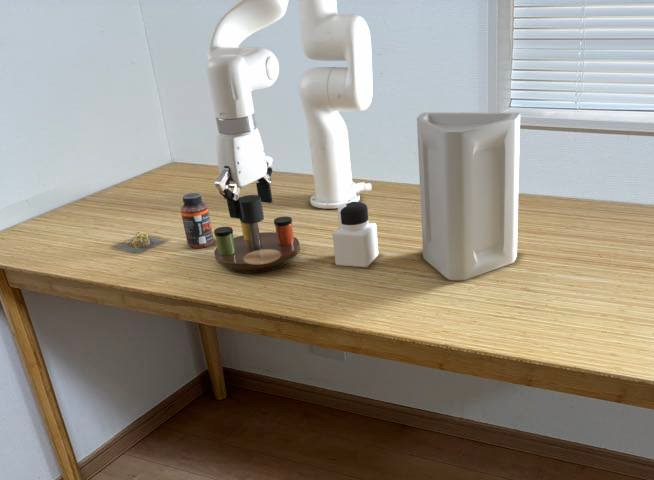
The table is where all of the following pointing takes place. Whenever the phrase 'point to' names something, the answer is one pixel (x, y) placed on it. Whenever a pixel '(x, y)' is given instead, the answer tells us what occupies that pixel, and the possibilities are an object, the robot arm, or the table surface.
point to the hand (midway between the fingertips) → (251, 209)
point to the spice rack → (255, 240)
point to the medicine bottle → (355, 236)
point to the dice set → (139, 243)
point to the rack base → (260, 268)
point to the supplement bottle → (196, 221)
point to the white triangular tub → (469, 191)
